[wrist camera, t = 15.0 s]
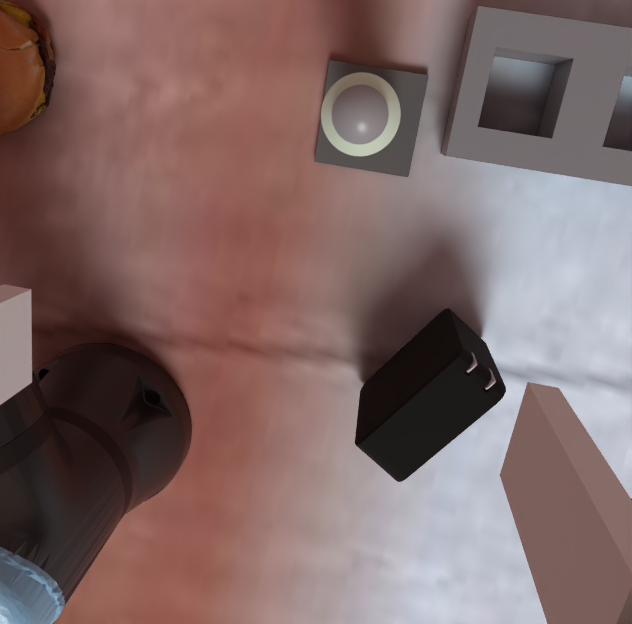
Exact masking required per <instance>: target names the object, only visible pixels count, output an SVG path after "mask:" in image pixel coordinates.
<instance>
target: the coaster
mask: <svg viewBox="0 0 632 624" xmlns="http://www.w3.org/2000/svg"><path fill="white" fill-rule="evenodd" d="M359 72H364V73H371V74H374V75H377V76H379V77H381V78H382V79H384V80H385V81H386V82H388V83H389V84H390V86H391V87H392V88H393V89H394V91H395V93H396V95H397V97H398V100H399V103H400V109H401V117H400V123H399V127H398V130H397V132H396V134H395V136H394V137H393V139H392V140H391V142H390V143H389V144H388V145H387V146H386V147H384V148H383V149H382V150H380V151H379V152H376V153H374V154H371V155H368V156H352V155H348V154H345V153H343V152H341V151H340V150H338V149H337V148H336V147H334V146H333V145H332V144H331V142H330V141H329V140H328V138H327V137H326V135H325V132H324V130H323V127H322V122H321V120H320V127H319V134H318V141H317V148H316V155H315V161H314V162H320V163H326V164H332V165H338V166H344V167H350V168H356V169H362V170H368V171H374V172H380V173H386V174H392V175H398V176H404V177H408V176H409V171H410V166H411V161H412V156H413V151H414V146H415V141H416V136H417V131H418V126H419V120H420V115H421V110H422V105H423V100H424V95H425V90H426V85H427V80H428V75H424V74H417V73H411V72H404V71H398V70H391V69H385V68H378V67H372V66H365V65H359V64H352V63H346V62H339V61H333V60H329V66H328V73H327V79H326V86H325V93H324V98H325V96H326V94H327V92H328V91H329V89H330V88H331V87H332V86H333V85H334V84H335V83H336V82H337V81H338V80H340V79H341V78H343V77H345V76H347V75H349V74H353V73H359ZM323 101H324V100H323Z"/></svg>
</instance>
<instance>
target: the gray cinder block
mask: <svg viewBox="0 0 632 624" xmlns="http://www.w3.org/2000/svg"><path fill="white" fill-rule="evenodd" d="M494 56H499V57H506V58H512V59H519V60H526V61H532V62H539V63H545V64H552V65H556V67H555V71H554V75H553V79H552V83H551V86H550V90H549V94H548V98H547V101H546V105H545V109H544V113H543V117H542V120H541V124H540V128H539V132H538V135H537V136H532V135H526V134H519V133H513V132H507V131H501V130H494V129H488V128H482V127H478V123H479V118H480V114H481V110H482V105H483V101H484V97H485V92H486V88H487V84H488V79H489V75H490V71H491V66H492V62H493V58H494ZM624 75H625V76H632V28H628V27H621V26H614V25H607V24H600V23H594V22H587V21H580V20H573V19H566V18H559V17H552V16H545V15H538V14H531V13H525V12H518V11H511V10H504V9H497V8H490V7H483V6H478V7H477V9H476V10H475V11H474V13H473V14H472V15H471V17H470V19H469V24H468V28H467V33H466V38H465V42H464V47H463V52H462V56H461V61H460V66H459V70H458V75H457V80H456V84H455V89H454V93H453V98H452V103H451V107H450V112H449V117H448V121H447V126H446V131H445V135H444V140H443V145H442V149H441V154H443V155H445V156H450V157H456V158H462V159H468V160H474V161H480V162H486V163H493V164H499V165H505V166H511V167H517V168H523V169H529V170H536V171H542V172H548V173H554V174H560V175H566V176H572V177H579V178H585V179H591V180H597V181H603V182H609V183H615V184H622V185H628V186H632V151H626V150H620V149H614V148H608V147H602V146H603V143H604V140H605V137H606V133H607V130H608V127H609V123H610V120H611V117H612V113H613V110H614V107H615V103H616V100H617V97H618V93H619V90H620V87H621V83H622V80H623V77H624Z"/></svg>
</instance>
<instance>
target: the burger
mask: <svg viewBox="0 0 632 624" xmlns="http://www.w3.org/2000/svg"><path fill="white" fill-rule="evenodd" d="M50 40H51V38H50V36H49V33H48V31H47V29H46V28H45V27H44V25H42V24H40V23H39V21H38V20H37V18H36V17H35V16H34V15H32V14H31V13H29V12H27V11H25V10H24V9H23V8H22V7H20V6H18V5H16V4H14V3H12V2H9V1H5V0H0V134H5V133H8V132H11V131H14V130H16V129H18V128H19V127H21V126H23V125H25V124H26V123H28V122H29V121H31V120H32V119H33V118H35V117H36V116H37V115H39V114H40V113H41V112H42V111H43V110H44V109H45V108H46V107H47V106H48V105H49V100H50V96H51V90H52V87H53V78H54V75H55V70H56V64H55V62H54V61H53V51H52V49H51V47H50Z"/></svg>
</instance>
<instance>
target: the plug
mask: <svg viewBox="0 0 632 624" xmlns="http://www.w3.org/2000/svg"><path fill="white" fill-rule="evenodd" d="M400 117H401V109H400V103H399V100H398V97H397V95H396V93H395V91H394V89H393V88H392V87H391V86H390V84H389V83H388V82H386V81H385V80H384V79H382V78H381V77H379V76H377V75H374V74H371V73H364V72H359V73H353V74H349V75H347V76H345V77H343V78H341V79H340V80H338V81H337V82H336V83H335V84H334V85H333V86H332V87H331V88H330V89H329V91H328V92H327V94H326V96H325V98H324V101H323V104H322V109H321V122H322V127H323V130H324V132H325V135H326V137H327V138H328V140H329V141H330V142H331V144H332V145H333V146H334V147H336V148H337V149H338V150H340V151H341V152H343V153H345V154H348V155H352V156H368V155H371V154H374V153H376V152H379V151H380V150H382V149H383V148H384V147H386V146H387V145H388V144H389V143H390V142H391V140H392V139H393V137H394V136H395V134H396V132H397V130H398V127H399V123H400Z"/></svg>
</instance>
